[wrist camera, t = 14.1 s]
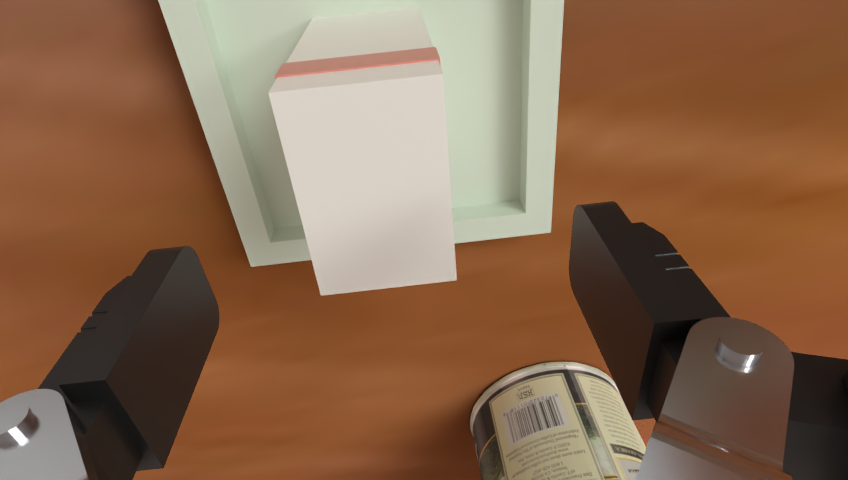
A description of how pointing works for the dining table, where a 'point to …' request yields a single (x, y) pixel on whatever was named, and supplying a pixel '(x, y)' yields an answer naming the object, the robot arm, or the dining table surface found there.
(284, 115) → the white banded brick
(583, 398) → the coffee can
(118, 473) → the robot arm
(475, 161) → the tray
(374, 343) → the dining table surface
